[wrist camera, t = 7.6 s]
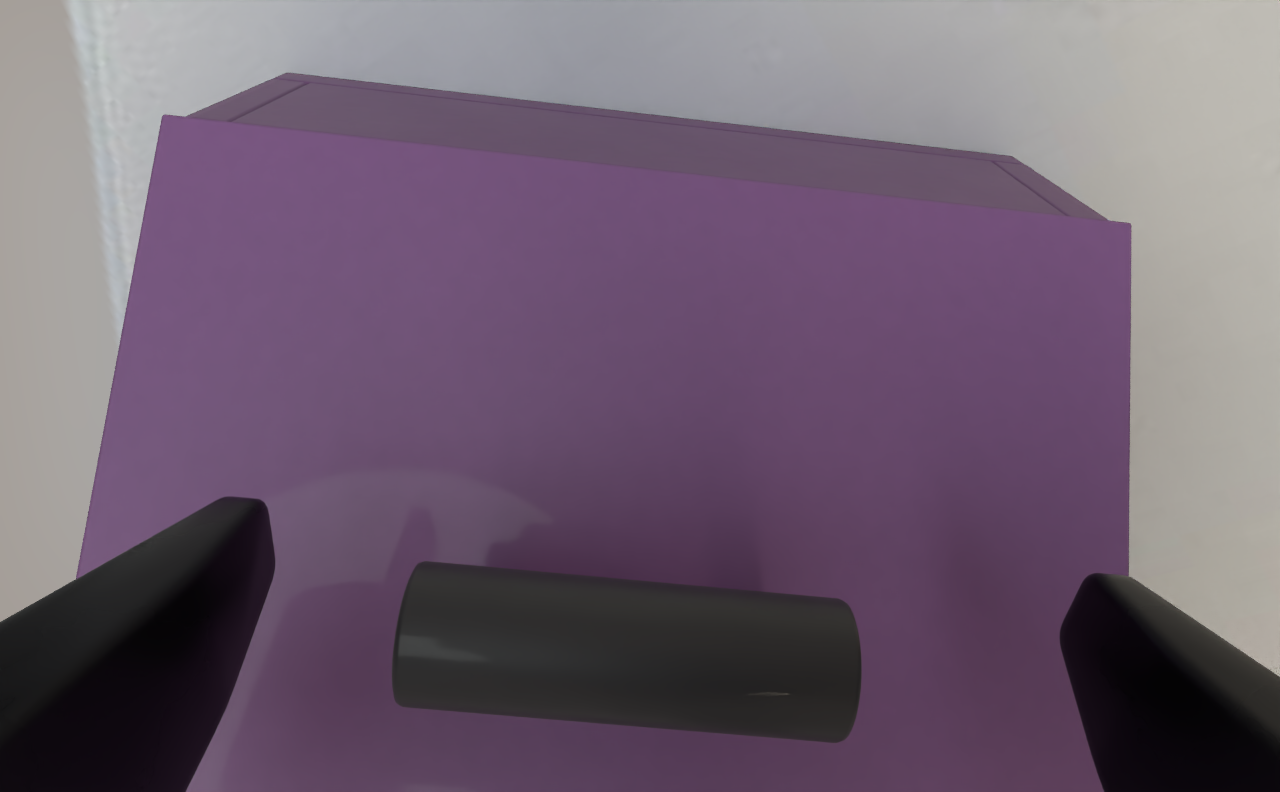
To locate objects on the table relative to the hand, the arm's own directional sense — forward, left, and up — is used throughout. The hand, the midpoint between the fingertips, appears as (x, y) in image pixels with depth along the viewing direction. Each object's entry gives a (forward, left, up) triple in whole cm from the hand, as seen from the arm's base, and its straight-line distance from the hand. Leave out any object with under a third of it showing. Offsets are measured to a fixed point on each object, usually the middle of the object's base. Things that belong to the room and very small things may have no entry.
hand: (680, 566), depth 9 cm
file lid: (-3, +2, -3) cm, 5 cm away
